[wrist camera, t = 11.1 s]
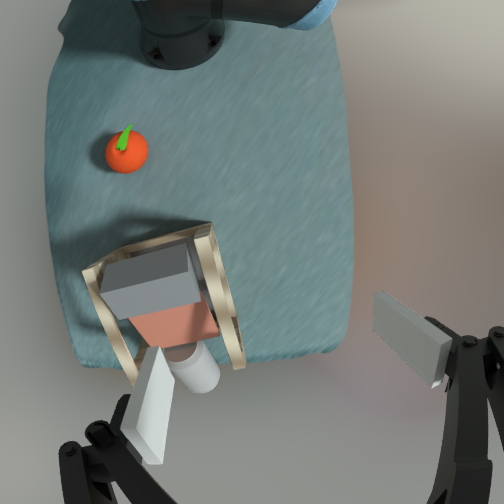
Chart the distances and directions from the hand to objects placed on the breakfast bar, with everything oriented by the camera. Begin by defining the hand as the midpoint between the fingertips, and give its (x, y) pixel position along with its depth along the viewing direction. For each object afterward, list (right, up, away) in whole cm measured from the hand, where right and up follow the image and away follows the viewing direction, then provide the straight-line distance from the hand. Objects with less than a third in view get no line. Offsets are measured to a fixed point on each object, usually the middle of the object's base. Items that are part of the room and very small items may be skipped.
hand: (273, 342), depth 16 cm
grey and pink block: (-13, -1, +22) cm, 26 cm away
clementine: (-21, +22, +26) cm, 40 cm away
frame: (-14, -1, +31) cm, 34 cm away
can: (-13, -9, +25) cm, 30 cm away
